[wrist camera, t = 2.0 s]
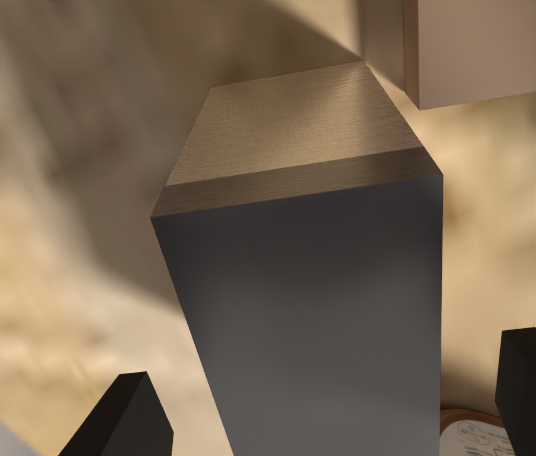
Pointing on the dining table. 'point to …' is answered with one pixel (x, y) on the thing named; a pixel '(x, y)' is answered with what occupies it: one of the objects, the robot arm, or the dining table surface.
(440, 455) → the tin
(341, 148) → the block
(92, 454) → the robot arm
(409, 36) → the stand
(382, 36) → the dining table surface
